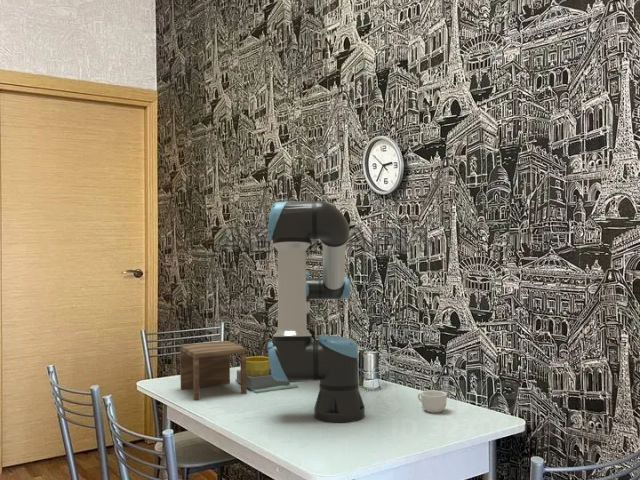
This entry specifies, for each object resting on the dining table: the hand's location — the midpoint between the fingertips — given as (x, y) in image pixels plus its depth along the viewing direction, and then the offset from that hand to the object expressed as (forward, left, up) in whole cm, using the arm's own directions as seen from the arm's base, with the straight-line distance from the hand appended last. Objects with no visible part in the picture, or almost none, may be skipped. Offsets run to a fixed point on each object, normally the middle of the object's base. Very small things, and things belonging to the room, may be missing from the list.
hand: (300, 374), depth 235 cm
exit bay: (0, +14, -2) cm, 14 cm away
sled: (0, +10, -1) cm, 10 cm away
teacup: (-57, -17, -2) cm, 60 cm away
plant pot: (-1, +18, -2) cm, 18 cm away
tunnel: (0, +34, -2) cm, 34 cm away
